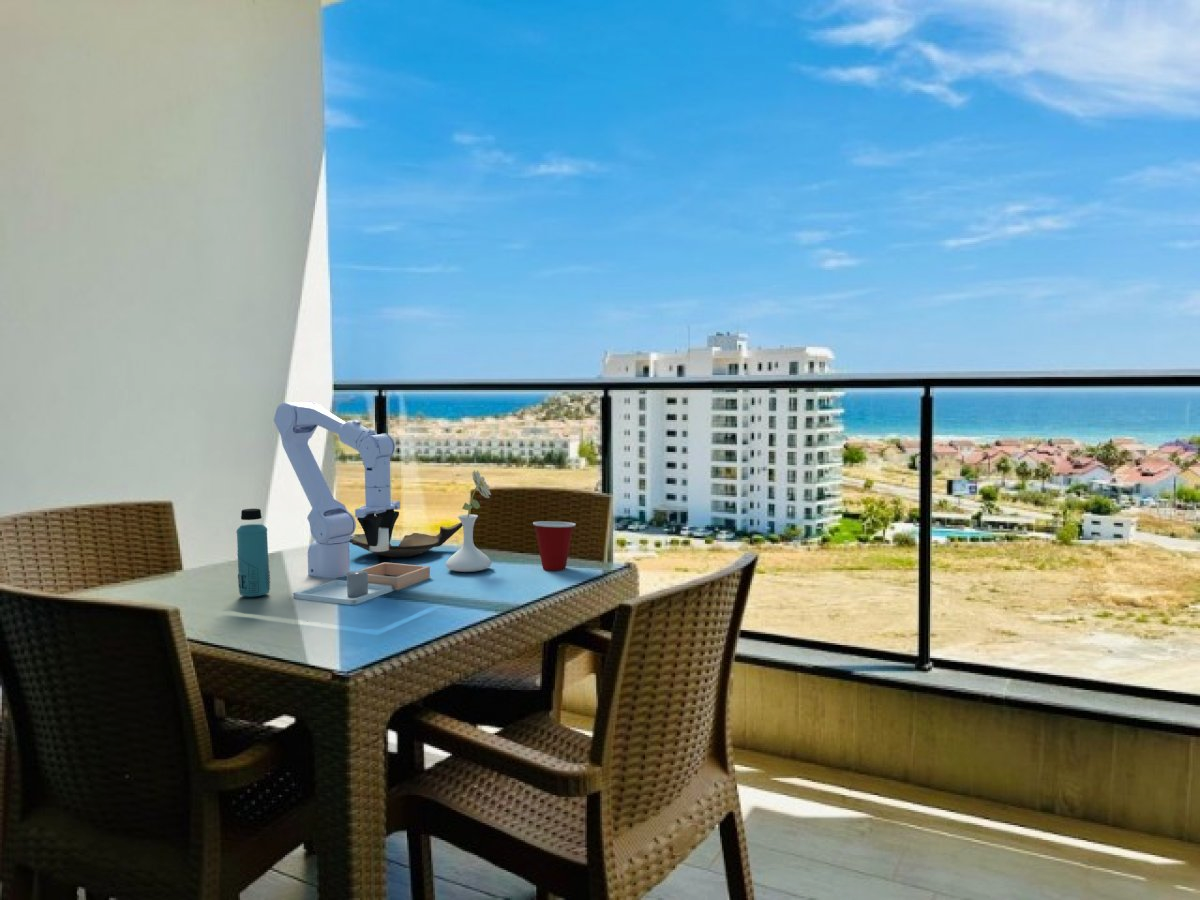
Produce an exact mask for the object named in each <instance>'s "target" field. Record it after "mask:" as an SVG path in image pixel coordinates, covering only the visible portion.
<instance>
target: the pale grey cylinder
mask: <svg viewBox="0 0 1200 900" xmlns="http://www.w3.org/2000/svg"><path fill="white" fill-rule="evenodd" d="M388 550H389V528H386V527H379V531H378V544H377V546H370V551H372V552H371V553H373V552H382V551H388ZM370 551H369V552H370Z"/></svg>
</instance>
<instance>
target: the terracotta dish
mask: <svg viewBox="0 0 1200 900" xmlns="http://www.w3.org/2000/svg"><path fill="white" fill-rule="evenodd" d="M357 571H367V572H368V583H372V584H382V585H392V586H394V591H399V590H402V589H405V588H407V587H409V586H412V585H415V584H418V583H420V582H423V581H426V580H428V579H429V580H430V579H431V567H430V566H429V565H428V566H426V565H418V564H417V565H416V564H415V565H414V564H405V563H395V562H394V563H393V562H381V563H378V564H375V565H371V566H369V567H364V568H363V569H359V570H357Z"/></svg>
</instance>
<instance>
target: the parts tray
mask: <svg viewBox="0 0 1200 900" xmlns="http://www.w3.org/2000/svg"><path fill="white" fill-rule="evenodd" d="M394 591H395V590H394V586H392V585H382V584H372V583H368V594H366V595H363V596H360V597H358V598H350V597H348V596H347V580H341V579H334V580H331V581H327V582H325V583H322V584H319V585H314V586H312V587H309V588H306V589H303V590H300V591H296V592H294V593H293V594H292V595H293V599H296V600H298V599H299V600H307V601H315V602H324V603H331V604H340V605H348V606H356V605H359V604H363V603H364V602H366V601H371V600H372V599H375V598H377V597H380V596H383V595H385V594H388V593H391V592H394Z"/></svg>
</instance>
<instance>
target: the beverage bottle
mask: <svg viewBox="0 0 1200 900" xmlns="http://www.w3.org/2000/svg"><path fill="white" fill-rule="evenodd" d="M240 513H241V516H240V519H241V520H242V521H253V520H254V521H255V520H256V521H257V520H260V519H262V510H261V509H260V508H245V509H242V510H241V512H240ZM236 540H237V541H236V543H237V545H236V546H237V553H236V554H237V568H238V569H237V571H238V573H237V583H238V592H239V595H240V596H242V597H260V596H263V595H267V594H269V593H270V590H271V574H270V573H271V571H270V560H269V559H270V558H269V546H268V545H269V543H268V527H266V525H264V524H262V523H257V522H253V523H251V522H250V523H244V524H241V525H240V526H239V527H238V528H237V529H236Z"/></svg>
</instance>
